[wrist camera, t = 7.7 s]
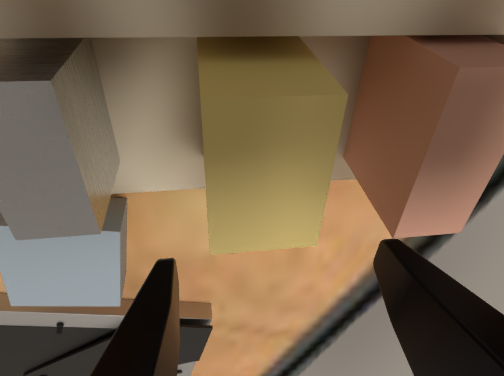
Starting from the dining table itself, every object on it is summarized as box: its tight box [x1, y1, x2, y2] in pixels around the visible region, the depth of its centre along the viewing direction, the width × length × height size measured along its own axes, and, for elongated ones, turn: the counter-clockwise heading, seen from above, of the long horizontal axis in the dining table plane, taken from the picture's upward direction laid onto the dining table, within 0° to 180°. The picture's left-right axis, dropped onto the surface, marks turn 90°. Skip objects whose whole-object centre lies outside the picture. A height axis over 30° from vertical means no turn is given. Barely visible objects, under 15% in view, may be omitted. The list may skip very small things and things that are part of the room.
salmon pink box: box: [344, 35, 504, 238], centre depth 15 cm, size 3×7×6 cm, turn 178°
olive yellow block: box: [197, 36, 348, 255], centre depth 14 cm, size 4×6×6 cm, turn 178°
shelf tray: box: [0, 0, 504, 194], centre depth 15 cm, size 20×10×5 cm, turn 88°
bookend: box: [0, 38, 120, 240], centre depth 13 cm, size 3×6×5 cm, turn 178°
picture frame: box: [0, 293, 212, 376], centre depth 29 cm, size 16×3×21 cm
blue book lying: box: [0, 197, 127, 306], centre depth 21 cm, size 6×6×3 cm
